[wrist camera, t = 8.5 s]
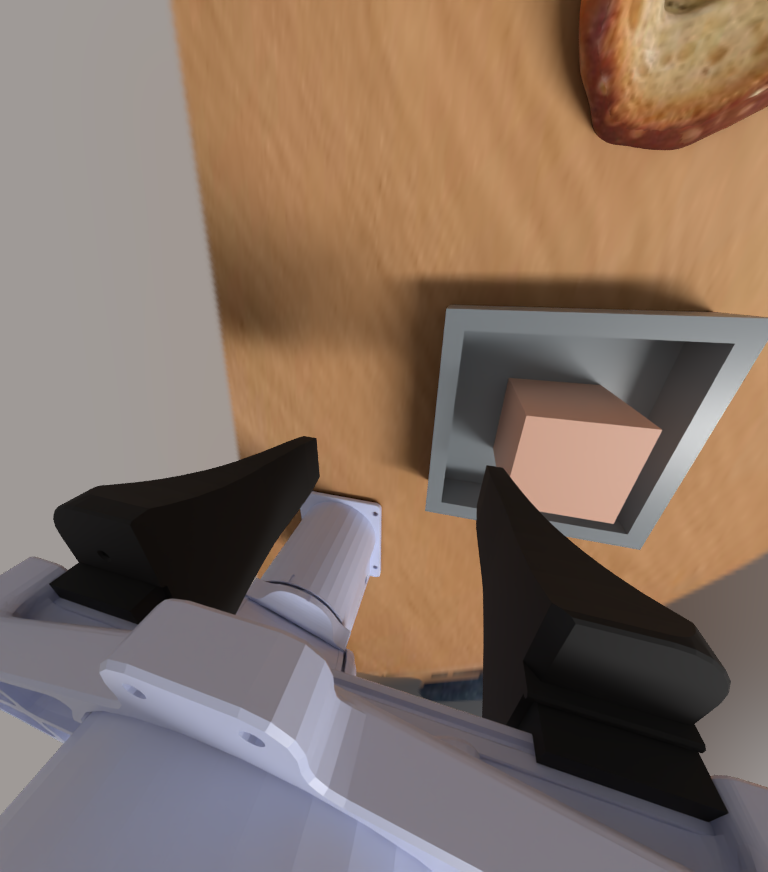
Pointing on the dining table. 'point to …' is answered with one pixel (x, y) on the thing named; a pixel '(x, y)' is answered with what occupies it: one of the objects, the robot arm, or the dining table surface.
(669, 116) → the bread slice
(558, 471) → the block
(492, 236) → the dining table surface
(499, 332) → the bin
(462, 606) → the dining table surface
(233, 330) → the dining table surface
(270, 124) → the dining table surface
